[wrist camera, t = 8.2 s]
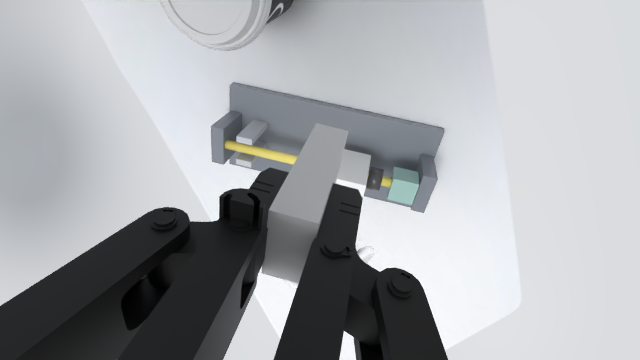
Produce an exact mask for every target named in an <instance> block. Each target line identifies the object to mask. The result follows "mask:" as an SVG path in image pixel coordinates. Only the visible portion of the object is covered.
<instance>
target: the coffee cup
mask: <svg viewBox="0 0 640 360" xmlns="http://www.w3.org/2000/svg"><path fill="white" fill-rule="evenodd" d="M160 2H161V4H162V6H163V8H164V10H165V12H166V14H167V15H168V17H169V18H170V20H171V21H172V22H173V23H174V25H175V26H176V27H177V28H178V29H179V30H180V31H182V32H183V33H184V34H185V35H187V36H188V37H189V38H191V39H192V40H194V41H195V42H197V43H199V44H201V45H203V46H205V47H208V48H211V49H216V50H224V51H228V50H235V49H239V48H242V47H244V46H246V45H248V44H249V43H251V42H252V41H253V40H254V39H255V38H256V37H257V36H258V35H259V34H260V32H261V31H262V30H263V28H264V26H265V25H266V24H268V23H269V22H271V21H272V20H274V19H275V18H277V17H278V16H280V15H281V14H283V13H284V12H285V11H286V10H287V9H288V8H289V7H290V5H291V4H292V2H293V0H160Z"/></svg>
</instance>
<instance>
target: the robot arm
mask: <svg viewBox="0 0 640 360" xmlns="http://www.w3.org/2000/svg"><path fill="white" fill-rule="evenodd" d="M347 135H348V131H346V130H342V129H338V128H334V127H330V126H326V125H322V124H318V123H316V124H315V126H314V128H313V130H312V132H311V133H310V135H309V137H308V139H307V141H306V143H305V144H304V146H303V148H302V150H301V152H300V154H299V155H298V157H297V159H296V161H295V163H294V165H293V166H292V168H291V170H290V172H286V171H282V170H278V169H274V168H271V167H270V168H268V169H266V170H264V171H262V172H261V173H260V174H259V175H258V177H257V178H256V180H255V182H253V184H252V185H251V187H250V188H249V189H242V188H240V189H232V190H229V191H226V192H224V193H223V194H222V195H221V196H220V209H219V219H218V221H213V222H190V220H189V217H188V215H187V214H186V213H185V212H184V211H183V210H180V209H177V208H169V207H164V208H159V209H155V210H153V211H150V212H148V213H147V214H145V215H143V216H142V217H140V218H138V219H137V220H135V221H134V222H132V223H131V224H129V225H127V226H126V227H124V228H123V229H121V230H119V231H118V232H116V233H115V234H113V235H112V236H110V237H108V238H107V239H105V240H104V241H102V242H100V243H99V244H98V245H96V246H94V247H93V248H91V249H90V250H88V251H87V252H85V253H83V254H82V255H80V256H79V257H77V258H75V259H74V260H72V261H71V262H69V263H67V264H66V265H64V266H63V267H61V268H60V269H58V270H57V271H55V272H53V273H52V274H50V275H48V276H47V277H45V278H44V279H42V280H41V281H39V282H38V283H36V284H34V285H33V286H31V287H30V288H28V289H26V290H25V291H24V292H22V293H20V294H19V295H17V296H15V297H14V298H12V299H11V300H9V301H7V302H6V303H4V304H3V305H1V306H0V360H223V358H224V356H225V354H226V351H227V349H228V347H229V345H230V343H231V340H232V338H233V336H234V334H235V331H236V329H237V327H238V325H239V323H240V320H241V318H242V316H243V314H244V312H245V309H246V307H247V305H248V303H249V300H250V298H251V296H252V294H253V292H254V289H255V287H256V283H257V275H258V273H259V271H260V268H261V266H262V273H263V274H267V275H270V276H274V277H277V278H281V279H284V280H288V281H291V282H295V283H298V287H297V290H296V293H295V296H294V299H293V302H292V305H291V308H290V311H289V314H288V317H287V320H286V323H285V327H284V330H283V333H282V336H281V339H280V342H279V345H278V348H277V351H276V355H275V357H274V360H339V357H340V351H341V345H342V338H343V332H344V331H345V332H347V333H348V334H350V335H352V336H353V337H354V345H355V353H356V360H448V358H447V355H446V352H445V350H444V347H443V344H442V341H441V338H440V335H439V332H438V329H437V327H436V324H435V321H434V318H433V315H432V312H431V309H430V306H429V304H428V301H427V298H426V295H425V292H424V289H423V287H422V286H421V284H420V282H419V281H418V280H417V279H416V278H415V277H414V276H413V275H412V274H410V273H408V272H406V271H405V270H402V269H398V268H386V269H385V270H383V271H381V272H379V271H377V270H376V269H374V268H372V267H371V266H369V265H368V264H366V263H365V262H364V261H363V260H362V259H361V258H360V257H359V255H358V254H357V251H356V248H355V243H356V236H357V230H358V224H359V218H360V212H361V205H362V196H361V194H360V192H359V190H358V189H355V188H351V187H347V186H343V185H339V184H336V180H337V176H338V172H339V168H340V164H341V160H342V156H343V152H344V148H345V144H346V140H347Z"/></svg>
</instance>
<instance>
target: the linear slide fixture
mask: <svg viewBox="0 0 640 360" xmlns="http://www.w3.org/2000/svg"><path fill="white" fill-rule="evenodd" d="M316 123H318V124H322V125H326V126H330V127H334V128H338V129H342V130H346V131H348V135H347V140H346V144H345V148H344V149H346V150H350V151H355V152H359V153H364V154H368V155H371V160H370V166H369V172H368V178H367V185H366V189H365V192H364V196H366V197H370V198H374V199H378V200H382V201H386V202H391V203H395V204H399V205H403V206H407V207H411V210H414V211H418V212H422V213H424V211H425V209H426V206H427V204H428V201H429V199H430V196H431V194H432V192H433V189H434V187H435V184H436V182H437V179H438V178H437V173H436V168H435V163H434V157H435V155H436V152H437V150H438V147H439V145H440V142H441V139H442V137H443V134H444V129H443V128H439V127H435V126H430V125H426V124H421V123H417V122H412V121H407V120H403V119H398V118H394V117H389V116H384V115H380V114H375V113H371V112H366V111H361V110H357V109H352V108H348V107H343V106H339V105H334V104H329V103H325V102H320V101H316V100H311V99H306V98H302V97H297V96H293V95H288V94H283V93H279V92H274V91H270V90H265V89H261V88H256V87H251V86H247V85H242V84H238V83H232V84H231V85H230V112H229V113H227V114H226V115H225V116H224V117H222V118H221V119H220V120H218V121H217V122H216V123H215V124H213V125H212V126H211V146H212V162H215V163H219V164H225V162H226V161H227V160H228V159H229V158H230V164H233V165H237V166H241V167H246V168H250V169H254V170H258V171H264V170H266V169H268V168H270V167H271V168H274V169H278V170H282V171H286V172H290V170H291V168H292V166H293V165H294V163H295V161H296V159H297V157H298V155H299V154H300V152H301V150H302V148H303V146H304V144H305V143H306V141H307V139H308V137H309V135H310V133H311V132H312V130H313V128H314V126H315V124H316Z"/></svg>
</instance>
